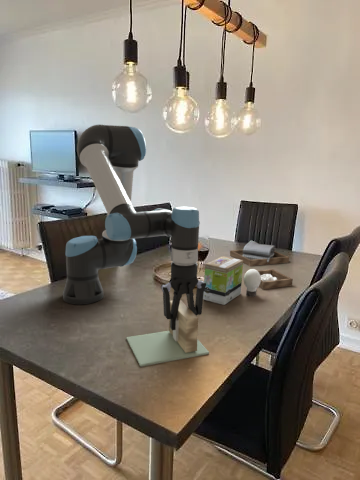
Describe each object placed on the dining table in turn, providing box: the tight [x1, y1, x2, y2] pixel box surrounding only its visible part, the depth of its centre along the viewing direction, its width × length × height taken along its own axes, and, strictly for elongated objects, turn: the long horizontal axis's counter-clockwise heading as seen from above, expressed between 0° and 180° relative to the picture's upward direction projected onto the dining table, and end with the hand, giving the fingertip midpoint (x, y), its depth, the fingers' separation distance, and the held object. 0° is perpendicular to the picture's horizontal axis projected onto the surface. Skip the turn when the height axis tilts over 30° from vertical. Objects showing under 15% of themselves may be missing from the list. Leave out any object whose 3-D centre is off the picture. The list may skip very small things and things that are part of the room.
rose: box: [261, 274, 278, 281], centre depth 165 cm, size 10×4×10 cm
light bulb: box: [243, 268, 261, 298], centre depth 150 cm, size 7×7×11 cm
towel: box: [242, 239, 276, 262], centre depth 204 cm, size 15×18×8 cm
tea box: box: [203, 255, 244, 306], centre depth 147 cm, size 15×10×15 cm
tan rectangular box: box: [168, 299, 199, 353], centre depth 110 cm, size 4×14×10 cm, turn 21°
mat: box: [125, 330, 210, 367], centre depth 109 cm, size 20×16×1 cm
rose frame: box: [244, 268, 293, 290], centre depth 167 cm, size 15×15×3 cm
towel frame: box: [229, 249, 290, 267], centre depth 204 cm, size 24×21×3 cm
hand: (182, 337), depth 111 cm, fingers closed on tan rectangular box, 3 cm apart
